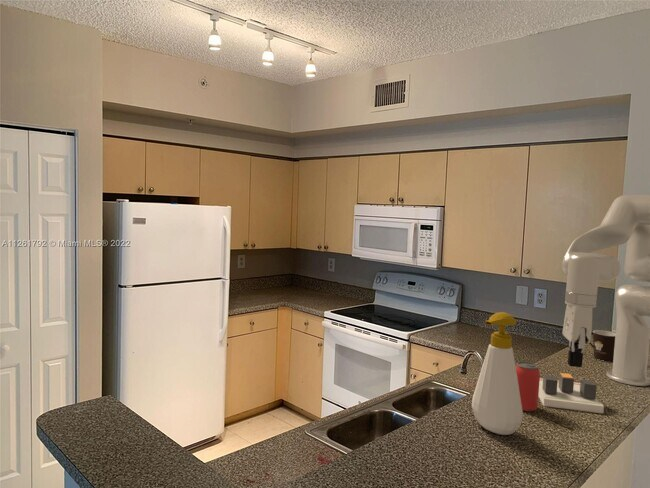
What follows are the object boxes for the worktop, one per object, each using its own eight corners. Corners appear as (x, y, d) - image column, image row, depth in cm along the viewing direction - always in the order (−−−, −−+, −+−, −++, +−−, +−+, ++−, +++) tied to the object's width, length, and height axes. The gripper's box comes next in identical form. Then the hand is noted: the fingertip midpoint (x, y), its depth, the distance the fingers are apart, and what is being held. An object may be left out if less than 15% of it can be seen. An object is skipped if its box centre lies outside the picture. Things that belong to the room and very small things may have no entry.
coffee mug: (621, 363, 176) (624, 336, 175) (598, 362, 176) (600, 335, 175) (604, 353, 187) (606, 328, 187) (582, 352, 188) (584, 327, 187)
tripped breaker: (558, 386, 142) (559, 372, 141) (569, 388, 141) (570, 373, 141) (561, 391, 138) (562, 377, 138) (573, 392, 137) (574, 378, 137)
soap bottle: (457, 425, 118) (464, 309, 116) (482, 415, 124) (489, 306, 122) (504, 447, 108) (513, 320, 106) (528, 435, 114) (537, 316, 112)
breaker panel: (532, 383, 150) (533, 364, 150) (584, 389, 147) (585, 369, 146) (543, 405, 133) (545, 383, 132) (603, 413, 129) (605, 390, 129)
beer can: (539, 413, 127) (543, 369, 126) (513, 410, 129) (517, 367, 128) (534, 404, 134) (537, 362, 133) (509, 401, 135) (512, 359, 134)
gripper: (559, 294, 138) (553, 356, 139) (572, 302, 123) (566, 372, 124) (587, 296, 136) (581, 360, 137) (605, 305, 121) (598, 376, 123)
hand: (574, 365), depth 131 cm, fingers closed
